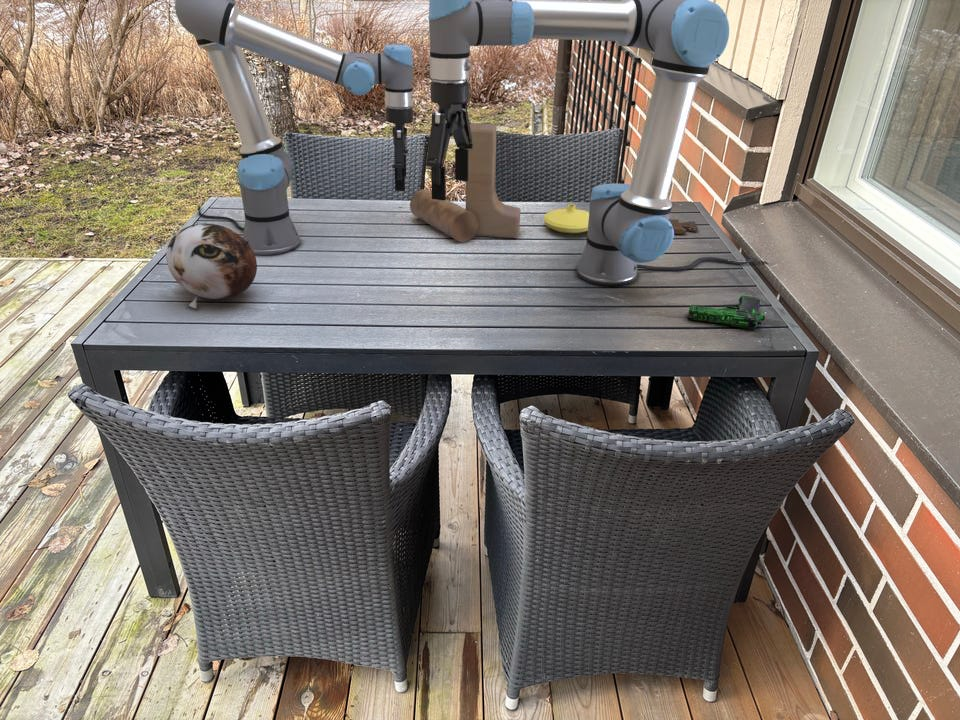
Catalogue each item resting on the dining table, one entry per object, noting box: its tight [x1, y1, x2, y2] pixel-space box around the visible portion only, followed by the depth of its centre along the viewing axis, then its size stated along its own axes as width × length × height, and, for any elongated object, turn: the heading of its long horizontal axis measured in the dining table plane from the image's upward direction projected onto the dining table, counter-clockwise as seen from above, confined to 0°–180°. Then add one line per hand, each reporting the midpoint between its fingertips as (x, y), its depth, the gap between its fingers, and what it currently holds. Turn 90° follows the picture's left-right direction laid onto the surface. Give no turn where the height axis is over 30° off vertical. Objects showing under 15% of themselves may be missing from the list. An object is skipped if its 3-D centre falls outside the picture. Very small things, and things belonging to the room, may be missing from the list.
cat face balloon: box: [165, 222, 258, 309], centre depth 165 cm, size 22×18×20 cm
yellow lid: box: [543, 203, 589, 234], centre depth 209 cm, size 16×16×7 cm
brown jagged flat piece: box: [668, 218, 698, 235], centre depth 212 cm, size 26×2×10 cm
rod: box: [409, 188, 478, 243], centre depth 207 cm, size 24×9×9 cm
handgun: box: [687, 295, 766, 331], centre depth 164 cm, size 16×3×15 cm
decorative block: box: [465, 122, 521, 239], centre depth 199 cm, size 8×15×30 cm, turn 82°
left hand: (400, 183), depth 206 cm, fingers open, 13 cm apart
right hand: (450, 189), depth 147 cm, fingers open, 13 cm apart
